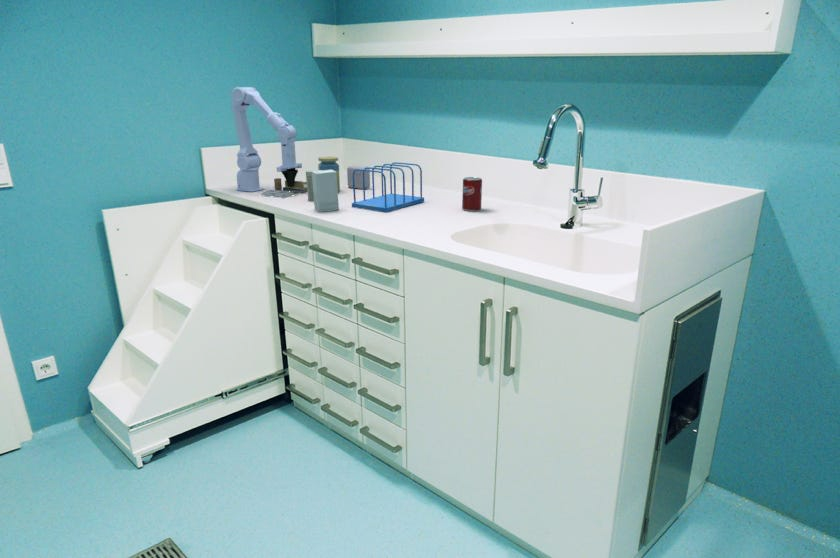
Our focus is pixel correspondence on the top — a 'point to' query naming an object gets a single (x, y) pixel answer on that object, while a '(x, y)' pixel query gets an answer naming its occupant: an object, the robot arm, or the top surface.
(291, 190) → the pattern board
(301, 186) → the cover
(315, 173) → the skincare box
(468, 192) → the soda can
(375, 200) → the file sorter
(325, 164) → the jar
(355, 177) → the electronic device
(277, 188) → the peg
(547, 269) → the top surface
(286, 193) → the socket board
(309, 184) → the skincare box
